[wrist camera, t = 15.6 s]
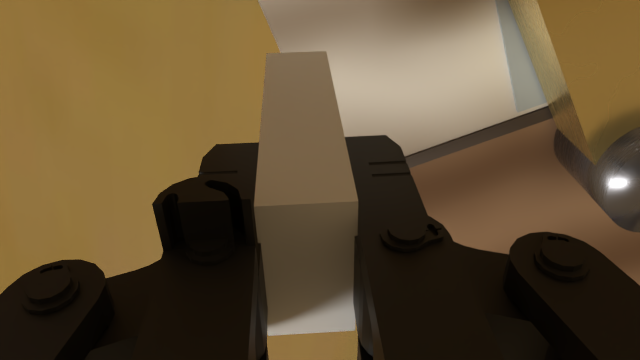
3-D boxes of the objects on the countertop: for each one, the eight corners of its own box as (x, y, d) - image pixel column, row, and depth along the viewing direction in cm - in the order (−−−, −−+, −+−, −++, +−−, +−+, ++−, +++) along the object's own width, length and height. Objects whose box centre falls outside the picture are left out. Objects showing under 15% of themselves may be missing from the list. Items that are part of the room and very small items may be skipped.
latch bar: (659, 146, 20) (746, 211, 16) (568, 188, 21) (631, 260, 17) (552, -254, 13) (657, -302, 9) (426, -168, 14) (477, -180, 10)
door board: (194, -168, 16) (158, -180, 11) (745, -434, 13) (960, -575, 9) (426, 374, 30) (449, 459, 26) (713, 292, 27) (791, 370, 23)
